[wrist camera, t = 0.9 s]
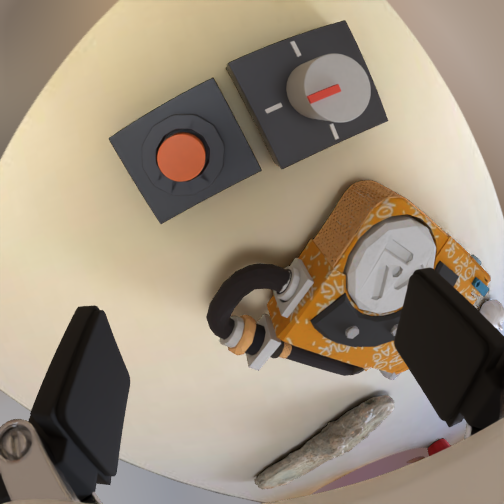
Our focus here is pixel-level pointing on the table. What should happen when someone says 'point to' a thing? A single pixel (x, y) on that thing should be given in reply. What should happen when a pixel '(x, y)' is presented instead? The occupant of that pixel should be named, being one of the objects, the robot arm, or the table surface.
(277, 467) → the elongated rock
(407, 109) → the table surface
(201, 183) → the button block
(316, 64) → the timer dial
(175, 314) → the table surface
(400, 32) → the table surface
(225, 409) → the table surface
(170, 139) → the power button
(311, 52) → the timer panel
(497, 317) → the garlic
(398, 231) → the device
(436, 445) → the plastic cup
